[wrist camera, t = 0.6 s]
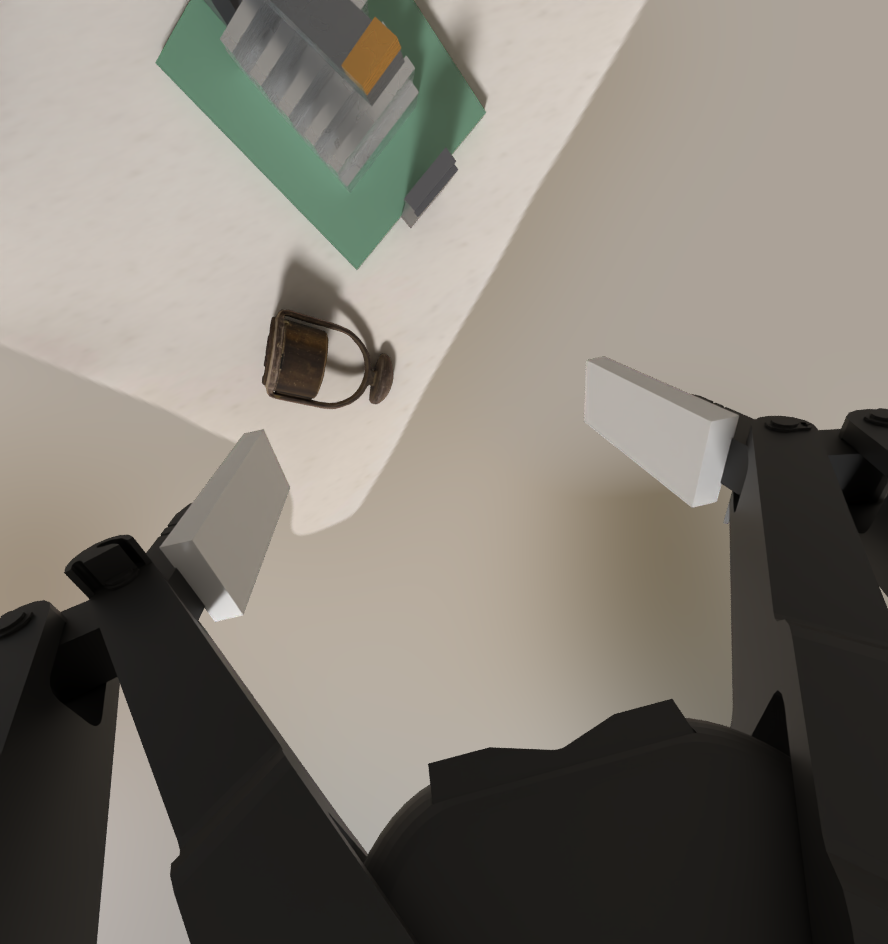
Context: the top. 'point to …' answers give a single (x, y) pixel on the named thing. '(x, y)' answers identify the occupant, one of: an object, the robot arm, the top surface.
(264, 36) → the heatsink
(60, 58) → the top surface
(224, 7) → the grey u-bracket
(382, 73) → the strap
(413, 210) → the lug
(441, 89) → the board
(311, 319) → the antique brown clock
